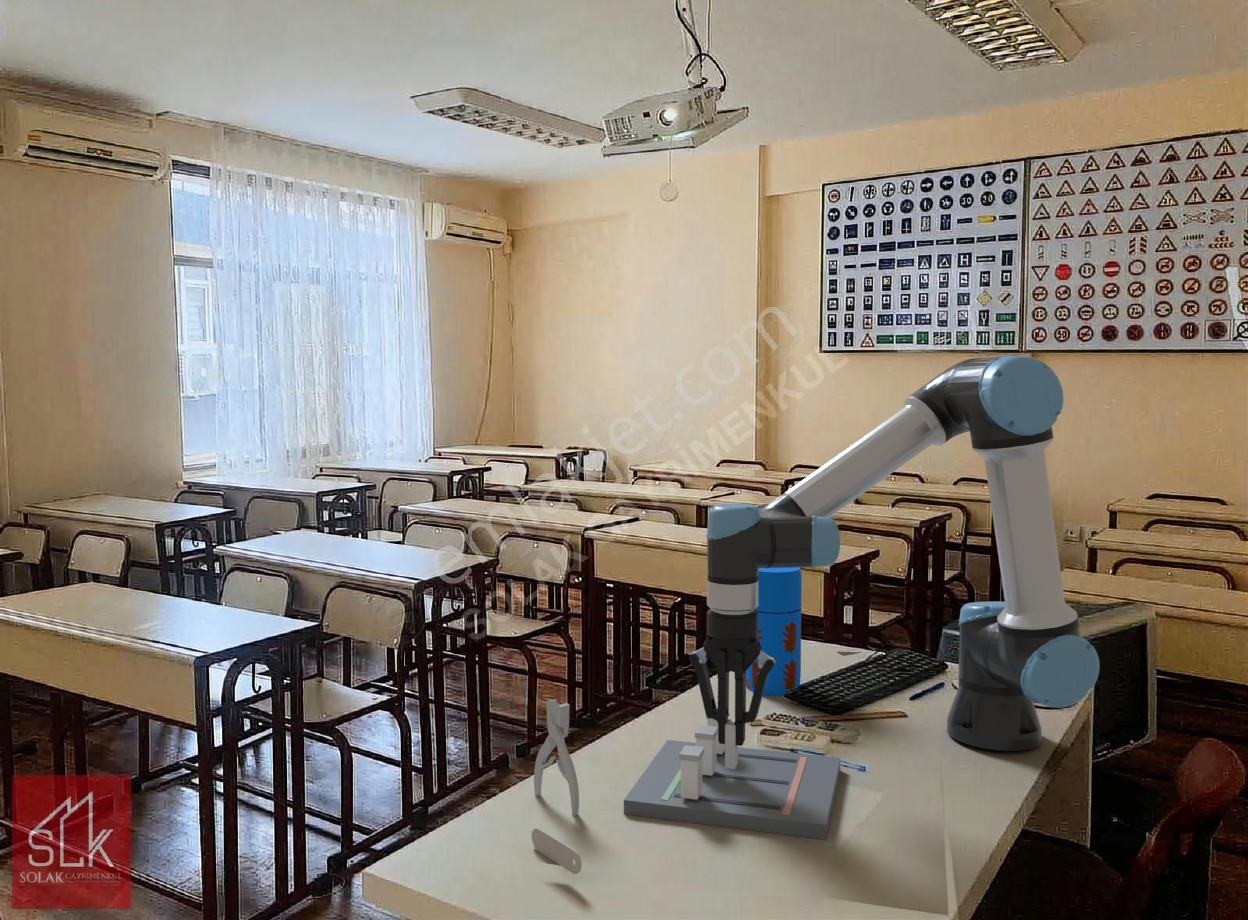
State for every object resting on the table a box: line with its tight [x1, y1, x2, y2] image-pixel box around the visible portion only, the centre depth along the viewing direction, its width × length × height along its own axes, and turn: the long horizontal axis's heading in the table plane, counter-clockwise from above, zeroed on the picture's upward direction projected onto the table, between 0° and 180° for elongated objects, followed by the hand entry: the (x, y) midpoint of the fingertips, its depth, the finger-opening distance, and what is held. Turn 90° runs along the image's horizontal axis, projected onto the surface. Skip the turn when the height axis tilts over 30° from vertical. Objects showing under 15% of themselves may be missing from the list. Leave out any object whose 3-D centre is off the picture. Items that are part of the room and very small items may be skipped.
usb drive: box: [836, 645, 877, 657], centre depth 216 cm, size 5×12×3 cm, turn 114°
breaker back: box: [705, 706, 725, 754], centre depth 154 cm, size 3×4×6 cm
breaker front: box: [679, 745, 704, 800], centre depth 137 cm, size 3×4×6 cm
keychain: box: [531, 827, 583, 875], centre depth 123 cm, size 10×1×3 cm, turn 39°
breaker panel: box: [623, 739, 841, 840], centre depth 144 cm, size 28×25×2 cm
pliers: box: [533, 699, 580, 817], centre depth 139 cm, size 10×2×15 cm, turn 41°
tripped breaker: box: [694, 724, 718, 776], centre depth 145 cm, size 3×4×6 cm
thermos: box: [746, 567, 802, 697], centre depth 192 cm, size 11×11×25 cm
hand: (731, 765), depth 144 cm, fingers closed
